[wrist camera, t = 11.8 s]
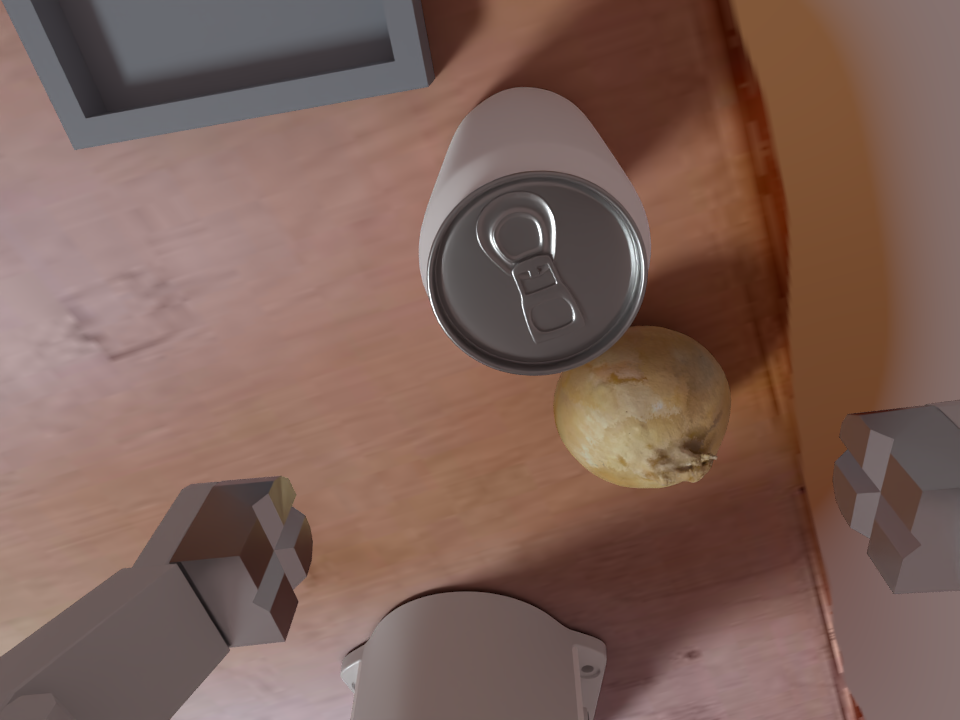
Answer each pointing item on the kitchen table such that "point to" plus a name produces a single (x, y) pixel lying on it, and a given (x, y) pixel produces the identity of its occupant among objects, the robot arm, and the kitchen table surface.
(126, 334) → the kitchen table surface
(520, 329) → the can
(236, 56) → the dock
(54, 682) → the robot arm
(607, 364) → the onion
